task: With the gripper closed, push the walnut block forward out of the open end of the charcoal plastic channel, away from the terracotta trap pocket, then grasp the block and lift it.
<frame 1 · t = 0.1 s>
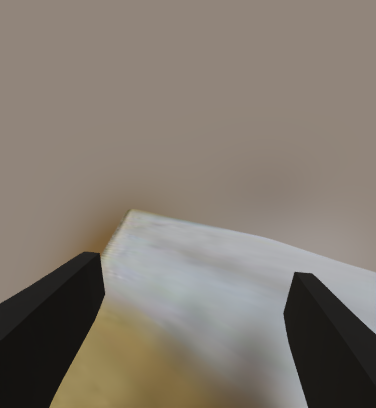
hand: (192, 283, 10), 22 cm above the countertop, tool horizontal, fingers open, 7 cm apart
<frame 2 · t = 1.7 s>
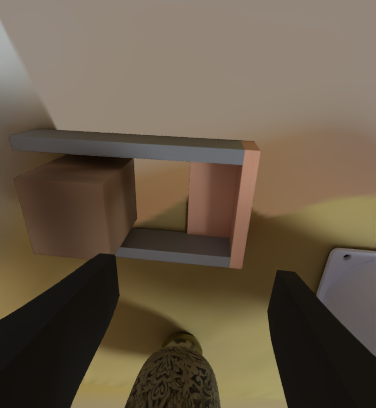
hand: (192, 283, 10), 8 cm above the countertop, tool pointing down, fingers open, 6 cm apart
walnut block: (103, 187, 18), on the countertop
cup: (183, 341, 24), on the countertop
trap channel: (138, 190, 17), on the countertop
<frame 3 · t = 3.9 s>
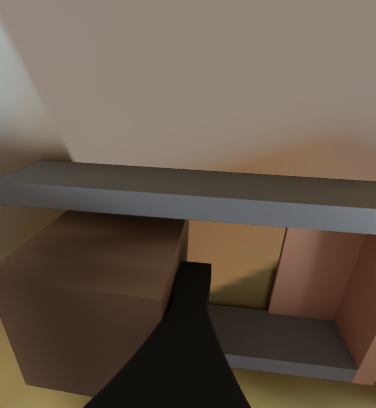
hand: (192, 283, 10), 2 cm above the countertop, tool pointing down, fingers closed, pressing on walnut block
walnut block: (138, 247, 12), on the countertop, touching gripper
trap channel: (198, 252, 11), on the countertop
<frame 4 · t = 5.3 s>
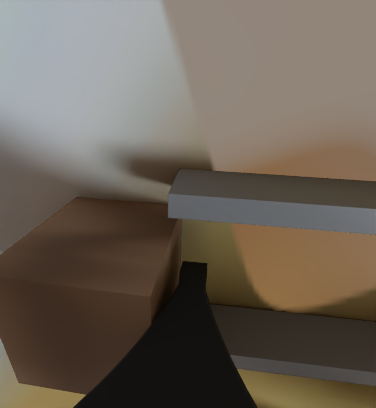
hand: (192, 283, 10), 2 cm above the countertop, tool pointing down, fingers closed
walnut block: (132, 245, 12), on the countertop, touching gripper
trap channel: (328, 264, 11), on the countertop
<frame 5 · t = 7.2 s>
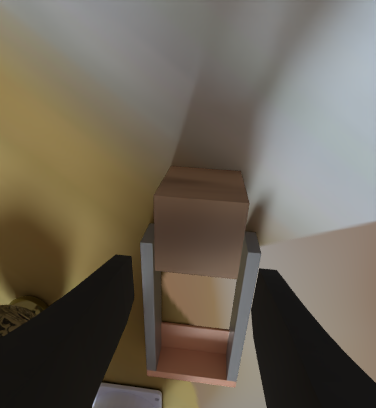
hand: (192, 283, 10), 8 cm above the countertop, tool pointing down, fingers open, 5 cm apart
walnut block: (203, 200, 17), on the countertop
cup: (36, 305, 24), on the countertop
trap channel: (197, 295, 21), on the countertop
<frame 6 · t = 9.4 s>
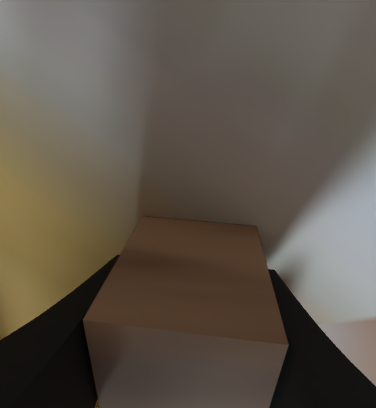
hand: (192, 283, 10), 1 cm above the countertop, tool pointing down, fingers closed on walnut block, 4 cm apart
walnut block: (195, 266, 11), on the countertop, touching gripper
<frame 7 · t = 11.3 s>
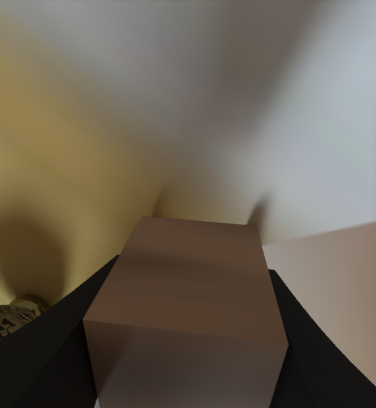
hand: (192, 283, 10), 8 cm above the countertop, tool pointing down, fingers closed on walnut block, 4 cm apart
walnut block: (195, 266, 11), point 7 cm above the countertop, touching gripper
cup: (35, 305, 24), on the countertop
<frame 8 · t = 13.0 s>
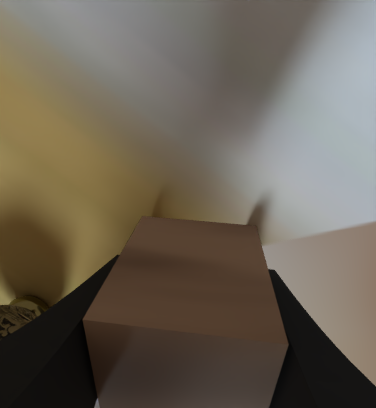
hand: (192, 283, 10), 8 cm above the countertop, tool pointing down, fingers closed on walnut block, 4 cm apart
walnut block: (195, 266, 11), point 7 cm above the countertop, touching gripper
cup: (35, 305, 24), on the countertop
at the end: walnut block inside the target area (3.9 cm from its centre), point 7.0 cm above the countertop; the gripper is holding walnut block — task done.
